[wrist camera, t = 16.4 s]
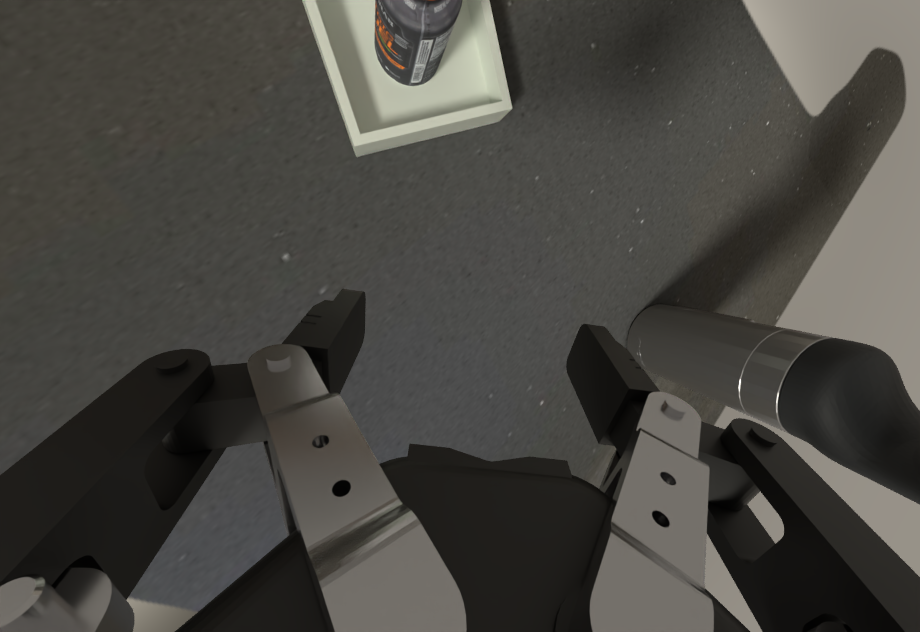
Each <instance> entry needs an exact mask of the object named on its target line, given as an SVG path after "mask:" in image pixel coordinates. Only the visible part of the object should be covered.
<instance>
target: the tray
mask: <svg viewBox="0 0 920 632" xmlns="http://www.w3.org/2000/svg"><path fill="white" fill-rule="evenodd" d="M302 2H303V4H304V7H305V10H306V13H307V16H308V19H309V22H310V25H311V28H312V31H313V33H314V36H315V39H316V42H317V45H318V48H319V51H320V54H321V57H322V60H323V62H324V65H325V68H326V71H327V74H328V77H329V80H330V83H331V86H332V89H333V91H334V94H335V97H336V100H337V103H338V106H339V109H340V112H341V115H342V118H343V120H344V123H345V126H346V129H347V132H348V135H349V138H350V141H351V144H352V147H353V150H354V152H355V155H356V157H359V156H363V155H367V154H371V153H375V152H379V151H383V150H387V149H391V148H395V147H399V146H403V145H407V144H411V143H415V142H419V141H423V140H428V139H432V138H436V137H440V136H444V135H448V134H452V133H456V132H460V131H464V130H468V129H472V128H476V127H480V126H484V125H488V124H492V123H497V122H499V121H500V120H501V119H502V118H503V117H504V116H505V115H506V114H507V113H508V112H509V111H510V110H511V109H512V104H511V100H510V95H509V90H508V86H507V81H506V76H505V71H504V67H503V62H502V57H501V53H500V48H499V43H498V38H497V34H496V29H495V24H494V20H493V15H492V10H491V6H490V1H489V0H462V6H461V9H460V12H459V15H458V17H457V20H456V22H455V25H454V28H453V30H452V33H451V35H450V38H449V41H448V43H447V46H446V48H445V51H444V54H443V56H442V59H441V62H440V64H439V67H438V69H437V71H436V73H435V74H434V76H433V77H432V78H431V79H430V80H429V81H428V82H426V83H424V84H422V85H418V86H407V85H403V84H401V83H399V82H397V81H395V80H394V79H393V78H391V77H390V76H389V75H388V74H387V73H386V72H385V71H384V69H383V68H382V66H381V64H380V62H379V61H378V58H377V54H376V51H375V44H374V39H375V37H374V36H375V0H302Z"/></svg>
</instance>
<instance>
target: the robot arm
mask: <svg viewBox="0 0 920 632" xmlns="http://www.w3.org/2000/svg"><path fill="white" fill-rule="evenodd" d="M365 301H366V298H365V292H362V291H355V290H348V289H342V290H341V291H340V293H339V294H338V295H337V297H336V298H335V299H334V301H328V300H324V301H323V302H321V303H319V304H317V305H315V306H313V307H312V308H311V309H310V311H309V312H308V313H307V314H306V316H305V317H304V318H303V319H302V320H301V323H299V324H298V325H297V326H296V327H295V328H294V330H293V331H292V332H291V333H290V334H289V336H288V337H287V338H286V339H285V340H284V342H283V343H282V344H277V345H272V346H268V347H265V348H262V349H260V350H258V351H257V352H255V353H254V354H253V355H252V356H251V357H250V358H249V360H248V362H247V363H241V364H229V365H216V366H211V362H210V358H209V356H208V355H207V354H206V353H204V352H202V351H199V350H193V349H180V350H173V351H168V352H165V353H161V354H158V355H156V356H153V357H151V358H149V359H147V360H145V361H144V362H142V363H141V364H140V365H138V366H137V367H136V368H135V369H133V370H132V371H131V372H130V373H128V374H127V375H126V376H125V377H123V378H122V379H121V380H120V381H118V382H117V383H116V384H115V385H113V386H112V387H111V388H109V389H108V390H107V391H106V392H104V393H103V394H102V395H101V396H99V397H98V398H97V399H96V400H94V401H93V402H92V403H91V404H89V405H88V406H87V407H86V408H84V409H83V410H82V411H81V412H79V413H78V414H77V415H76V416H74V417H73V418H72V419H71V420H69V421H68V422H67V423H65V424H64V425H63V426H62V427H60V428H59V429H58V430H57V431H55V432H54V433H53V434H52V435H50V436H49V437H48V438H47V439H45V440H44V441H43V442H42V443H40V444H39V445H38V446H37V447H35V448H34V449H33V450H32V451H30V452H29V453H28V454H27V455H25V456H24V457H23V458H21V459H20V460H19V461H18V462H16V463H15V464H14V465H13V466H11V467H10V468H9V469H8V470H6V471H5V472H4V473H3V474H1V475H0V632H133V627H134V613H133V609H132V608H131V606H130V605H129V603H128V602H127V601H126V600H127V598H128V597H129V595H130V594H131V592H132V590H133V589H134V587H135V586H136V584H137V583H138V581H139V580H140V578H141V577H142V575H143V574H144V572H145V571H146V569H147V568H148V566H149V565H150V563H151V562H152V560H153V559H154V557H155V556H156V554H157V553H158V551H159V549H160V548H161V546H162V545H163V543H164V542H165V540H166V539H167V537H168V536H169V534H170V533H171V531H172V530H173V528H174V527H175V525H176V524H177V522H178V521H179V519H180V518H181V516H182V515H183V513H184V512H185V510H186V508H187V507H188V505H189V504H190V502H191V501H192V499H193V498H194V496H195V495H196V493H197V492H198V490H199V489H200V487H201V486H202V484H203V483H204V481H205V480H206V478H207V477H208V475H209V474H210V472H211V471H212V469H213V467H214V466H215V464H216V463H217V461H218V460H219V458H220V457H221V455H222V454H223V452H224V451H225V449H226V448H227V447H231V446H237V445H243V444H250V443H256V442H263V446H264V449H265V453H266V457H267V460H268V464H269V467H270V471H271V474H272V478H273V481H274V485H275V488H276V492H277V495H278V499H279V503H280V507H281V512H282V516H283V520H284V524H285V528H286V531H287V535H288V537H287V538H285V539H284V540H283V541H282V542H281V543H279V544H278V545H277V546H276V547H275V548H274V549H272V550H271V551H270V552H269V553H268V554H266V555H265V556H264V557H263V558H262V559H260V560H259V561H258V562H257V563H256V564H255V565H253V566H252V567H251V568H250V569H249V570H247V571H246V572H245V573H244V574H243V575H242V576H240V577H239V578H238V579H237V580H236V581H234V582H233V583H232V584H231V585H230V586H229V587H227V588H226V589H225V590H224V591H223V592H221V593H220V594H219V595H218V596H217V597H215V598H214V599H213V600H212V601H211V602H210V603H208V604H207V605H206V606H205V607H204V608H202V609H201V610H200V611H199V612H198V613H197V614H195V615H194V616H193V617H192V618H191V619H190V620H188V621H187V622H186V623H185V624H184V625H182V626H181V627H180V628H179V629H178V630H176V631H175V632H750V631H749V630H748V629H747V628H746V627H745V626H744V625H743V624H742V623H741V622H740V621H739V620H738V619H736V618H735V617H734V616H733V615H732V614H731V613H730V612H729V611H728V610H727V609H726V608H725V607H724V606H723V605H722V604H721V603H720V602H719V601H718V600H717V599H716V598H715V597H714V596H713V595H711V594H710V593H709V592H708V591H707V590H706V589H705V584H704V579H705V557H706V534H708V536H709V537H710V539H711V541H712V543H713V545H714V546H715V548H716V550H717V552H718V553H719V555H720V557H721V559H722V560H723V562H724V564H725V566H726V567H727V569H728V571H729V573H730V574H731V576H732V578H733V580H734V581H735V583H736V585H737V587H738V589H739V590H740V592H741V594H742V595H743V598H744V599H745V601H746V603H747V605H748V606H749V608H750V610H751V612H752V613H753V615H754V617H755V619H756V620H757V622H758V624H759V626H760V628H761V629H762V631H763V632H920V577H919V576H918V575H917V574H916V573H915V572H914V571H913V570H912V569H911V568H910V567H909V566H908V565H907V564H906V563H905V562H904V561H903V560H902V559H901V558H900V557H899V556H898V555H897V554H896V553H895V552H894V551H893V550H892V549H891V548H890V547H889V546H888V545H887V544H886V543H885V542H884V541H883V540H882V539H881V538H880V537H879V536H878V535H877V534H876V533H875V532H874V531H873V530H872V529H871V528H870V527H869V526H868V525H867V524H866V523H865V522H864V521H863V520H862V519H861V518H860V517H859V516H858V515H857V514H856V513H855V512H854V511H853V510H852V509H851V507H849V505H847V503H846V502H845V501H844V500H843V499H841V497H839V495H838V494H837V493H836V492H835V491H834V490H833V489H832V488H831V487H830V486H829V485H828V484H827V483H826V482H825V481H824V480H823V479H822V478H821V477H820V476H819V475H818V474H817V473H816V472H815V471H814V470H813V469H812V468H811V467H810V466H809V465H808V464H807V463H806V462H805V461H804V460H803V459H802V458H801V457H800V456H799V455H798V454H797V453H796V452H795V451H794V450H793V449H792V448H791V447H790V446H789V445H788V444H787V443H786V442H785V441H784V440H783V439H782V438H781V437H779V436H778V435H777V434H775V433H774V432H772V431H771V430H769V429H767V428H766V427H764V426H762V425H760V424H758V423H755V422H753V421H750V420H746V419H740V418H738V419H734V420H732V422H731V423H730V424H729V425H728V426H727V428H726V429H722V428H719V427H716V426H713V425H710V424H707V423H704V422H701V419H700V416H699V415H698V413H697V412H696V411H695V410H694V409H693V408H692V407H691V406H690V405H689V404H687V403H686V402H685V401H683V400H681V399H680V398H678V397H676V396H673V395H671V394H668V393H664V392H660V391H659V390H658V388H657V387H656V386H655V384H654V383H653V382H652V380H651V379H650V378H649V377H648V375H647V374H646V373H645V371H644V370H643V369H645V370H648V371H650V372H652V373H654V374H657V375H659V376H661V377H663V378H665V379H667V380H670V381H672V382H674V383H676V384H679V385H681V386H683V387H685V388H688V389H690V390H692V391H694V392H697V393H699V394H701V395H703V396H706V397H708V398H710V399H712V400H715V401H717V402H719V403H721V404H724V405H726V406H728V407H731V408H733V409H735V410H738V411H739V412H742V413H744V414H746V415H748V416H751V417H753V418H755V419H758V420H760V421H762V422H764V423H767V424H769V425H771V426H773V427H776V428H778V429H780V430H782V431H784V432H787V433H789V434H791V435H793V436H795V437H798V438H800V439H802V440H804V441H806V442H808V443H809V444H811V445H812V446H813V447H815V448H816V449H817V450H819V451H820V452H821V453H822V454H824V455H825V456H827V457H828V458H830V459H831V460H833V461H835V462H837V463H838V464H840V465H842V466H844V467H846V468H848V469H850V470H852V471H854V472H856V473H858V474H860V475H862V476H864V477H867V478H869V479H871V480H873V481H875V482H877V483H879V484H880V485H883V486H884V487H886V488H888V489H890V490H893V491H894V492H896V493H898V494H900V495H903V496H904V497H906V498H908V499H910V500H912V501H914V502H916V503H918V504H920V411H919V410H918V408H917V407H916V406H915V404H914V403H913V402H912V400H911V398H910V397H909V395H908V393H907V391H906V389H905V386H904V384H903V381H902V379H901V376H900V373H899V371H898V368H897V366H896V365H895V363H894V362H893V360H892V359H891V358H890V357H889V356H888V355H887V354H886V353H885V352H883V351H882V350H880V349H878V348H876V347H873V346H870V345H867V344H863V343H858V342H853V341H847V340H843V339H837V338H832V337H827V336H822V335H817V334H812V333H806V332H802V331H796V330H791V329H785V328H781V327H776V326H771V325H765V324H760V323H755V321H753V320H750V319H745V318H740V317H735V316H730V315H724V314H719V313H714V312H709V311H704V310H698V309H693V308H688V307H683V306H677V307H675V306H670V305H664V304H657V305H653V306H650V307H648V308H647V309H645V310H644V311H642V312H641V313H640V314H639V315H638V316H637V318H636V319H635V320H634V322H633V324H632V326H631V328H630V330H629V334H628V339H627V349H628V350H627V349H626V348H625V347H623V346H622V345H621V344H619V343H618V342H617V341H615V339H614V338H613V337H612V335H611V334H610V333H609V331H608V330H607V329H606V328H605V327H603V326H596V325H589V324H583V325H582V326H581V327H580V329H579V331H578V333H577V336H576V338H575V341H574V343H573V346H572V348H571V351H570V353H569V356H568V359H567V366H566V367H567V373H568V376H569V378H570V380H571V383H572V385H573V387H574V389H575V391H576V394H577V396H578V398H579V400H580V403H581V405H582V407H583V409H584V412H585V414H586V416H587V418H588V421H589V423H590V425H591V427H592V430H593V432H594V434H595V436H596V439H597V441H598V443H599V444H603V445H612V446H615V447H616V451H615V453H614V454H613V456H612V458H611V460H610V463H609V465H608V468H607V470H606V473H605V475H604V478H603V480H602V483H601V485H600V488H599V489H598V488H597V487H595V486H594V485H592V484H590V483H588V482H587V481H585V480H583V479H580V478H578V477H576V476H573V475H571V472H570V469H569V466H568V463H567V461H565V460H555V459H546V458H537V457H523V458H516V459H509V460H502V461H494V462H491V461H486V460H483V459H480V458H477V457H474V456H471V455H468V454H466V453H463V452H460V451H457V450H454V449H451V448H445V447H435V446H426V445H417V444H410V445H409V451H408V457H401V458H396V459H392V460H389V461H386V462H384V463H381V464H379V463H378V461H377V459H376V458H375V456H374V454H373V452H372V451H371V449H370V447H369V445H368V444H367V442H366V440H365V438H364V437H363V435H362V433H361V431H360V430H359V428H358V426H357V424H356V423H355V421H354V419H353V417H352V416H351V414H350V412H349V410H348V408H347V407H346V405H345V403H344V401H343V400H342V398H341V396H340V395H339V394H340V392H341V390H342V388H343V385H344V383H345V381H346V379H347V377H348V375H349V372H350V370H351V368H352V366H353V364H354V362H355V359H356V357H357V355H358V353H359V351H360V348H361V346H362V343H363V339H364V334H365ZM641 368H643V369H641ZM760 491H761V493H762V494H763V495H764V496H765V498H766V499H767V500H768V501H769V503H770V504H771V505H772V506H773V508H774V509H775V510H776V512H777V513H778V514H779V516H780V517H781V519H782V521H783V524H784V536H783V537H782V539H781V540H780V541H778V542H777V543H776V544H775V543H774V541H773V540H772V539H771V537H770V536H769V535H768V533H767V532H766V530H765V529H764V527H763V526H762V525H761V523H760V522H759V520H758V519H757V518H756V516H755V515H754V513H753V512H752V511H751V509H750V508H749V507H748V505H747V504H748V503H749V501H751V500H752V498H754V497H755V496H756V495H757V494H758V493H759V492H760Z"/></svg>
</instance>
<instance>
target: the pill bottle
mask: <svg viewBox="0 0 920 632" xmlns="http://www.w3.org/2000/svg"><path fill="white" fill-rule="evenodd" d="M461 6H462V0H375V36H374V37H375V39H374V44H375V51H376V54H377V58H378V61H379V62H380V64H381V66H382V68H383V69H384V71H385V72H386V73H387V74H388V75H389V76H390V77H391V78H393V79H394V80H395V81H397V82H399V83H401V84H403V85H407V86H418V85H422V84H424V83H426V82H428V81H429V80H430V79H431V78H432V77H433V76H434V74H435V73H436V71H437V69H438V67H439V64H440V62H441V59H442V56H443V54H444V51H445V48H446V46H447V43H448V41H449V38H450V35H451V33H452V30H453V28H454V25H455V22H456V20H457V17H458V15H459V12H460V9H461Z"/></svg>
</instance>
